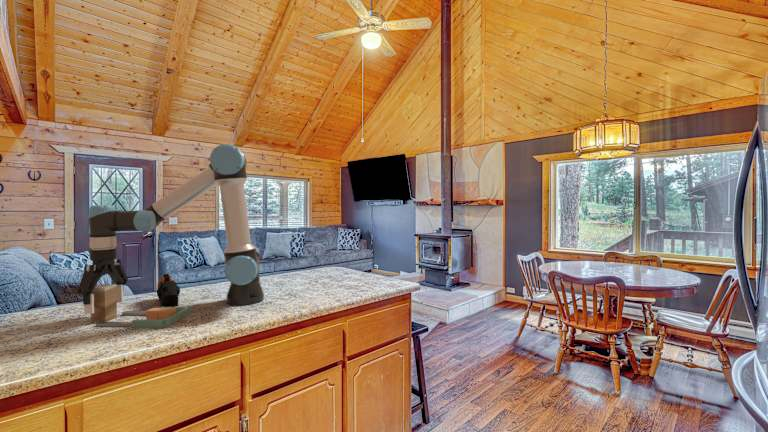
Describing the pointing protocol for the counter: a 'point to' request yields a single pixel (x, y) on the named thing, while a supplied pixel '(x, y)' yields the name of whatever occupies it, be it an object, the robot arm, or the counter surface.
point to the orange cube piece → (166, 313)
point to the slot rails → (121, 324)
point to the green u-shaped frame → (164, 323)
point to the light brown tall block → (104, 303)
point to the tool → (168, 291)
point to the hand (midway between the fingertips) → (104, 307)
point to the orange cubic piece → (152, 314)
